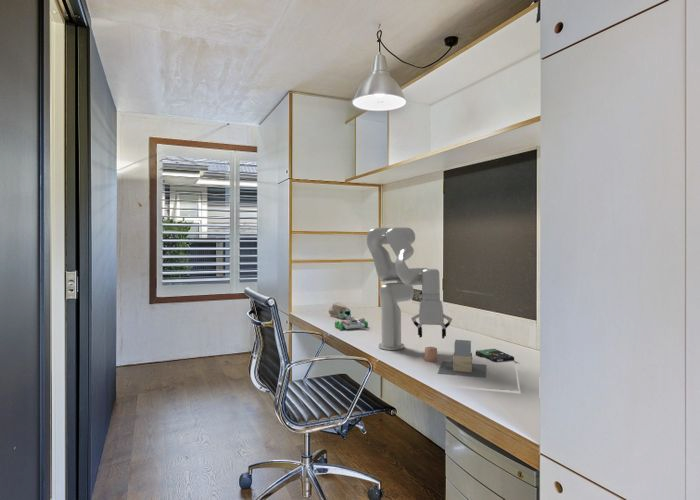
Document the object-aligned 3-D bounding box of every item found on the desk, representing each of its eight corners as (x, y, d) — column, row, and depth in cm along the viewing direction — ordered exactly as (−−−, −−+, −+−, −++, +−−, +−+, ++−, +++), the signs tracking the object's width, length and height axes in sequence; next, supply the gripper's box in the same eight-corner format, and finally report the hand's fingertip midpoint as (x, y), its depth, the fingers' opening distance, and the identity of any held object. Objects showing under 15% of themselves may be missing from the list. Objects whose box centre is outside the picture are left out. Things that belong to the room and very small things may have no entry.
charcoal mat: (442, 362, 188) (442, 361, 188) (486, 366, 182) (486, 364, 182) (437, 375, 171) (437, 373, 171) (485, 380, 165) (485, 377, 165)
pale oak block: (454, 365, 181) (454, 351, 181) (472, 367, 179) (472, 352, 179) (453, 370, 175) (453, 355, 174) (471, 372, 172) (471, 357, 172)
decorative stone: (351, 319, 292) (351, 304, 291) (342, 320, 288) (342, 305, 287) (336, 314, 309) (336, 300, 308) (326, 315, 304) (326, 301, 304)
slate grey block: (455, 351, 180) (455, 339, 180) (470, 352, 178) (470, 340, 178) (454, 355, 175) (454, 343, 175) (470, 356, 173) (470, 344, 173)
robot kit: (354, 321, 283) (354, 307, 283) (370, 329, 260) (370, 313, 260) (327, 324, 276) (327, 309, 276) (341, 331, 253) (341, 315, 253)
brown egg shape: (425, 360, 193) (425, 346, 193) (437, 361, 191) (437, 347, 191) (423, 363, 188) (423, 349, 188) (436, 364, 186) (436, 350, 186)
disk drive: (514, 363, 189) (494, 354, 203) (514, 356, 189) (494, 348, 203) (494, 365, 186) (474, 355, 200) (494, 358, 186) (474, 349, 200)
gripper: (409, 298, 188) (410, 338, 188) (450, 298, 182) (451, 340, 182) (412, 296, 195) (413, 335, 195) (452, 297, 190) (453, 336, 190)
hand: (432, 337), depth 189 cm, fingers open, 9 cm apart
